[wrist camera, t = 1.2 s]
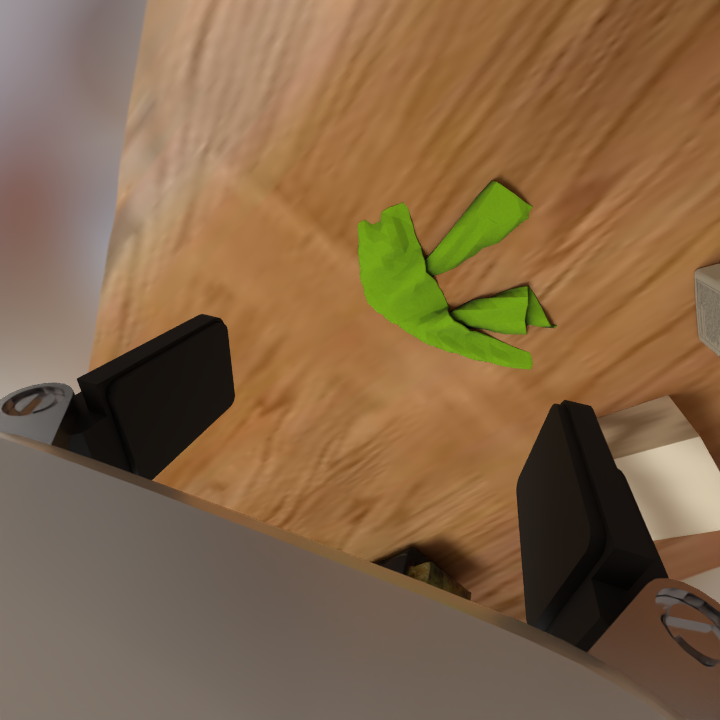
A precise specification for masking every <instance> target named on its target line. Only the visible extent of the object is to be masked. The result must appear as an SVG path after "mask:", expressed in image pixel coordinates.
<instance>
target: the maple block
mask: <svg viewBox="0 0 720 720" xmlns="http://www.w3.org/2000/svg"><path fill="white" fill-rule="evenodd" d="M597 420H598V422H599V425H600V427H601V430H602V432H603V434H604V437H605V439H606V442H607V444H608V447H609V449H610V451H611V454H612V456H613V459H614V461H615V463H616V466H617V468H618V469H620V470H621V471H622V472H623V474H624V475H625V477H626V479H627V482H628V484H629V486H630V489H631V491H632V493H633V496H634V498H635V500H636V503H637V505H638V507H639V510H640V512H641V514H642V517H643V519H644V521H645V524H646V526H647V528H648V531H649V533H650V535H651V538H652V540H659V539H666V538H672V537H679V536H685V535H692V534H698V533H705V532H711V531H718V530H720V472H719V470H718V468H717V466H716V464H715V463H714V461H713V459H712V457H711V455H710V454H709V452H708V450H707V448H706V446H705V445H704V443H703V441H702V439H701V437H700V436H699V434H698V433H697V432H696V431H695V429H694V428H693V427H692V425H691V424H690V423H689V422H688V420H687V419H686V418H685V416H684V415H683V414H682V412H681V411H680V410H679V409H678V407H677V406H676V405H675V403H674V402H673V401H672V400H671V398H670V397H669V396H668V395H667V396H664V397H661V398H658V399H654V400H651V401H648V402H645V403H642V404H639V405H636V406H633V407H630V408H627V409H624V410H621V411H618V412H615V413H612V414H609V415H606V416H603V417H600V418H597Z"/></svg>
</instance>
